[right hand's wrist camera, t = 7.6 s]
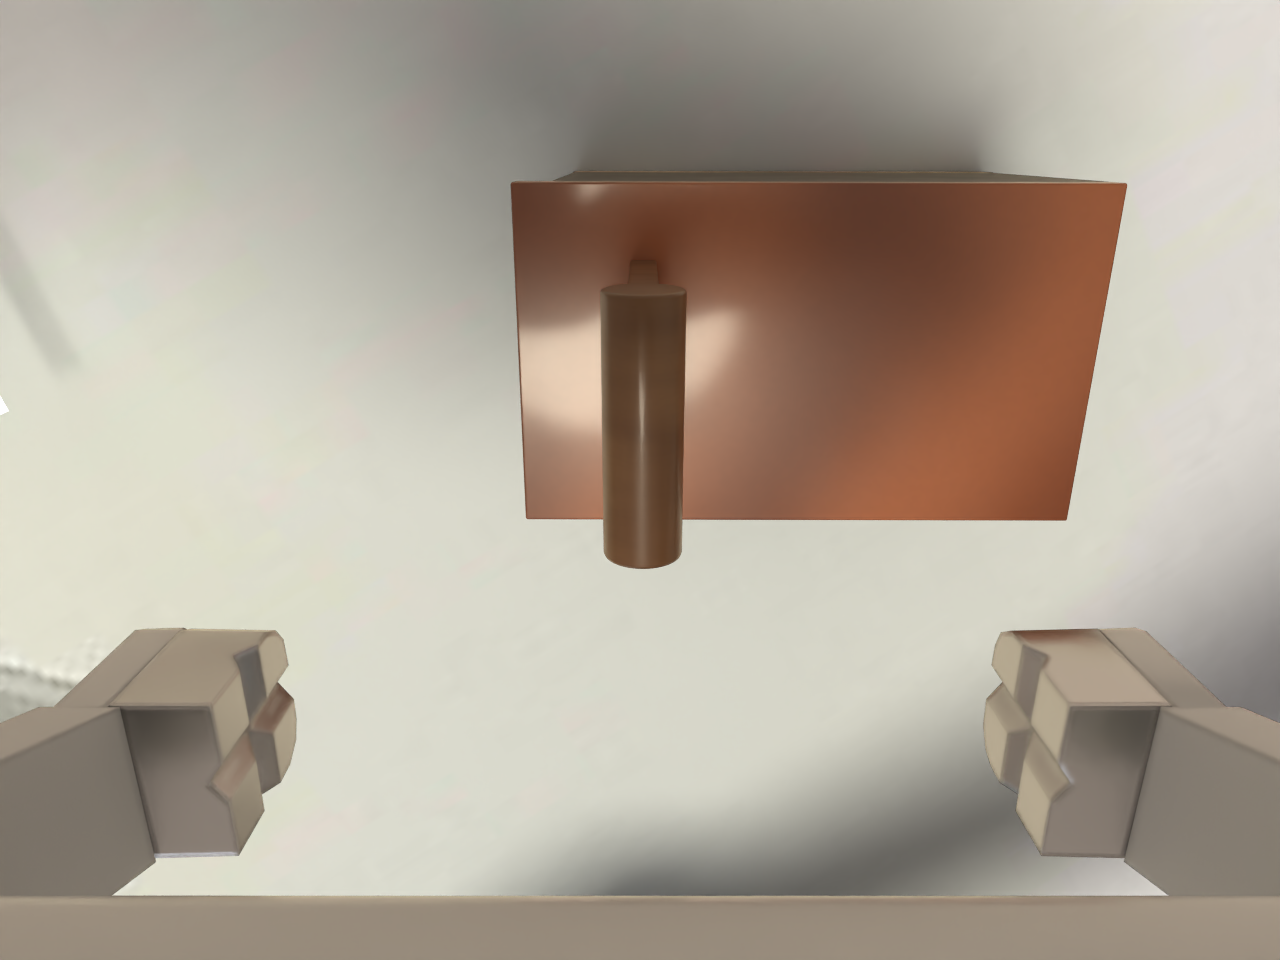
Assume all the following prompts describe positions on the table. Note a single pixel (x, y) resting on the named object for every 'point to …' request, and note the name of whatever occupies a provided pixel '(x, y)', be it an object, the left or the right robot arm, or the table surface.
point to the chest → (807, 176)
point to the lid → (804, 350)
